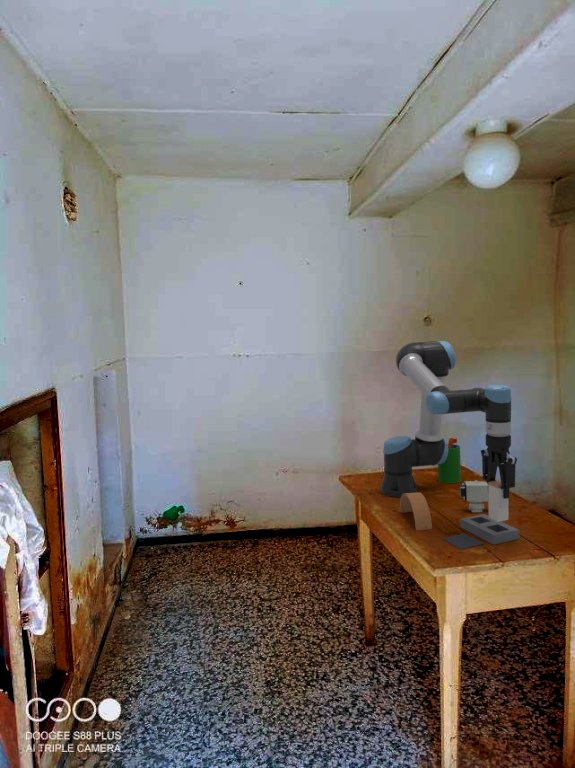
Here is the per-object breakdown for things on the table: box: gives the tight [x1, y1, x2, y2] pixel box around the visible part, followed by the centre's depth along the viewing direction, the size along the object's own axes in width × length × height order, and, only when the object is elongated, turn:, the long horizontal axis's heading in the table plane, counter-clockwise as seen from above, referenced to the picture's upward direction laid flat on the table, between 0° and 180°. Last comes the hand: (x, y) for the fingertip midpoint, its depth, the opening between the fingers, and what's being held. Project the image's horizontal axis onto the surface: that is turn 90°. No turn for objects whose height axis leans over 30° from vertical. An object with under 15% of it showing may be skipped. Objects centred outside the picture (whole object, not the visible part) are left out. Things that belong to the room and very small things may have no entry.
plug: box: [488, 479, 509, 522], centre depth 163 cm, size 4×4×12 cm
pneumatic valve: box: [458, 479, 489, 514], centre depth 189 cm, size 6×12×12 cm, turn 78°
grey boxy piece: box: [459, 513, 520, 545], centre depth 168 cm, size 16×10×4 cm, turn 20°
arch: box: [399, 491, 433, 532], centre depth 183 cm, size 6×20×10 cm, turn 3°
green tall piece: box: [437, 436, 462, 484], centre depth 228 cm, size 10×9×20 cm
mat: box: [442, 532, 485, 550], centre depth 162 cm, size 9×9×1 cm
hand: (498, 504), depth 163 cm, fingers closed on plug, 4 cm apart
